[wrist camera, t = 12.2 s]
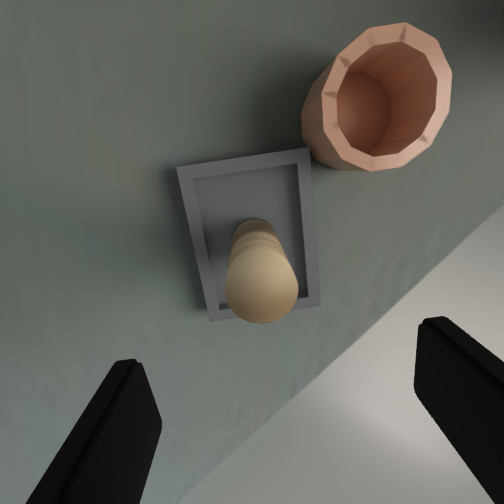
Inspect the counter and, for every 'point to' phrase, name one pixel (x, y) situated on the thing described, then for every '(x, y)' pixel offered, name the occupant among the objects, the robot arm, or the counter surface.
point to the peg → (259, 274)
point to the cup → (378, 100)
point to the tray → (251, 206)
